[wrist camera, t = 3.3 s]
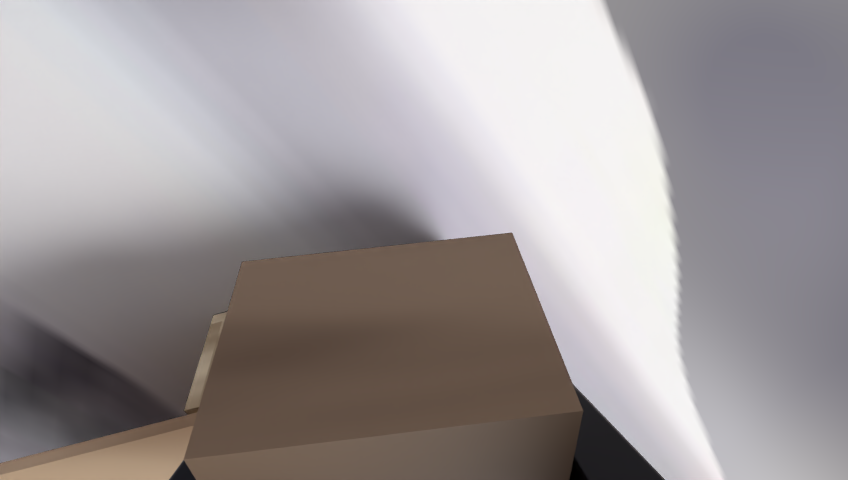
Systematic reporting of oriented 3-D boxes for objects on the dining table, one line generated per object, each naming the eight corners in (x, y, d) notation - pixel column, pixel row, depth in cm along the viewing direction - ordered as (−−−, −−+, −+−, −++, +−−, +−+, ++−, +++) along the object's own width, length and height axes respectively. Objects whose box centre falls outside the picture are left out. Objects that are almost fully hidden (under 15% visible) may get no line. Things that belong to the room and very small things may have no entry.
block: (503, 398, 11) (550, 574, 9) (298, 423, 11) (277, 611, 8) (511, 232, 9) (582, 410, 6) (242, 261, 9) (183, 459, 6)
